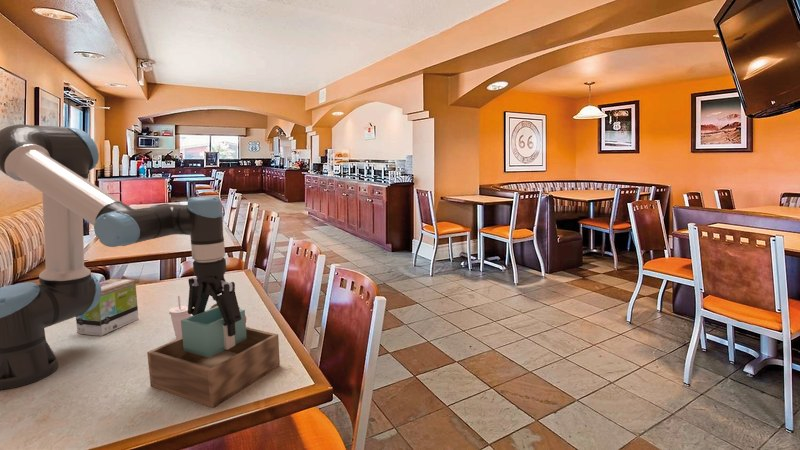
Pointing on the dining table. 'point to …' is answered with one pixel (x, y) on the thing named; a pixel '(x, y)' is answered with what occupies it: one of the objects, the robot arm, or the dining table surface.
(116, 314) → the tea box
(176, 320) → the smoothie
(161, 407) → the dining table surface
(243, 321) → the teal crate
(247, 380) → the walnut crate
